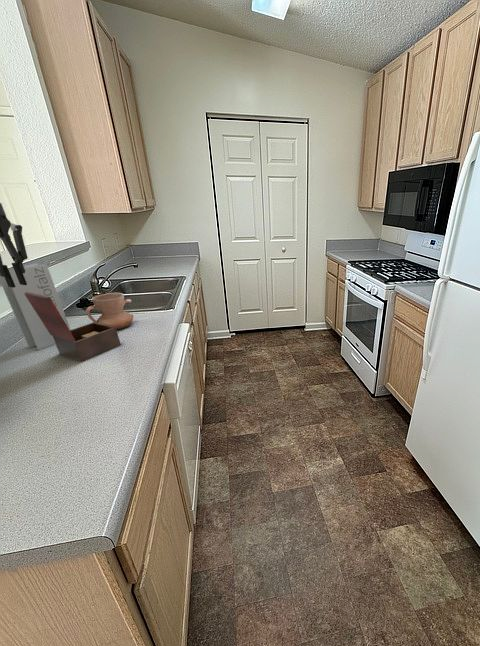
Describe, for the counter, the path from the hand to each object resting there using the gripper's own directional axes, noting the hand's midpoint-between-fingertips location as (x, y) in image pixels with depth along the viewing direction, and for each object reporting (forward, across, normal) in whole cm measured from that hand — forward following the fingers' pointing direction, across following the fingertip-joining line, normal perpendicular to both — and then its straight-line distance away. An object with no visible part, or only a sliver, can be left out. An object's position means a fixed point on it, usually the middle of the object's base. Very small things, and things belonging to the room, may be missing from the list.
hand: (17, 285), depth 102 cm
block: (+28, +16, 0) cm, 32 cm away
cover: (+12, +6, 0) cm, 13 cm away
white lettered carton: (+29, +12, +22) cm, 38 cm away
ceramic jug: (+29, +34, +14) cm, 47 cm away
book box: (+29, +14, 0) cm, 32 cm away
